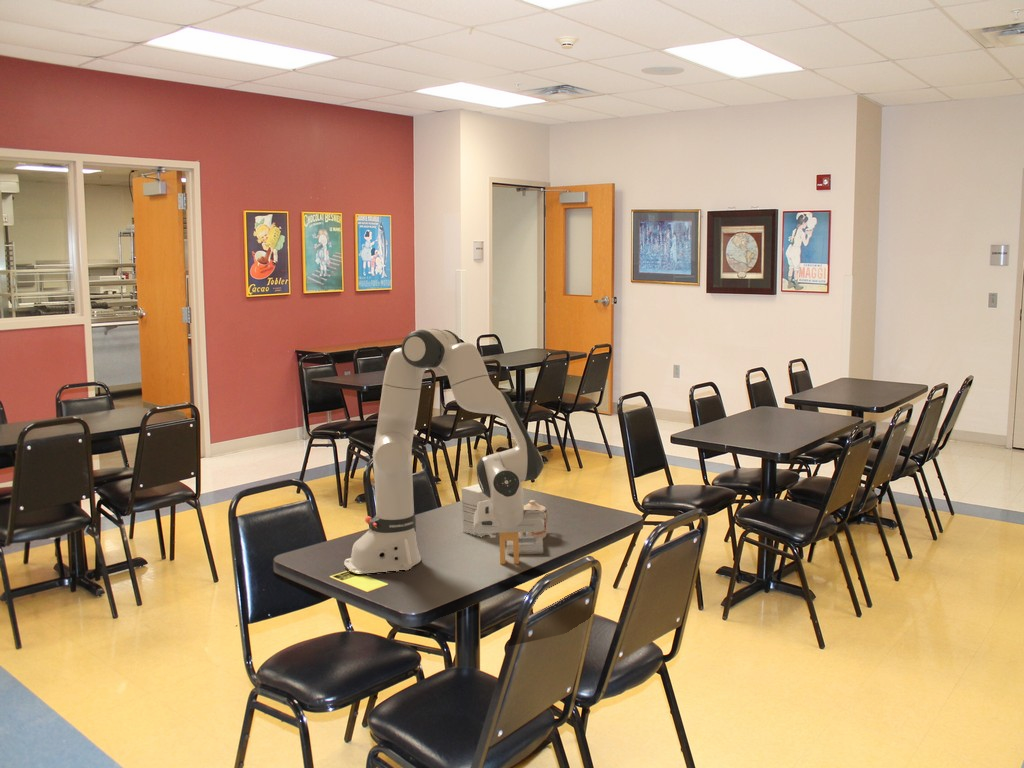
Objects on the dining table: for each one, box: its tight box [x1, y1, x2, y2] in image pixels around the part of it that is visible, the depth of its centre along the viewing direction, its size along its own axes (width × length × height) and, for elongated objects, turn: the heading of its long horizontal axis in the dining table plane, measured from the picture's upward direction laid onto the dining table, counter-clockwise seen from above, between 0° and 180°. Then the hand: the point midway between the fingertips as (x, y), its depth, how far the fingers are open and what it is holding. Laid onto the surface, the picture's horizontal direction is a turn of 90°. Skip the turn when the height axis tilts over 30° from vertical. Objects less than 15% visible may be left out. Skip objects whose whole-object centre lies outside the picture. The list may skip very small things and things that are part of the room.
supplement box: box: [461, 483, 491, 538], centre depth 289 cm, size 9×9×15 cm
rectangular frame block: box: [506, 536, 544, 555], centre depth 270 cm, size 8×11×3 cm
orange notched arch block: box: [499, 532, 520, 565], centre depth 258 cm, size 6×3×12 cm, turn 90°
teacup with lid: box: [519, 499, 549, 539], centre depth 284 cm, size 12×9×12 cm
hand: (509, 535), depth 256 cm, fingers open, 8 cm apart
